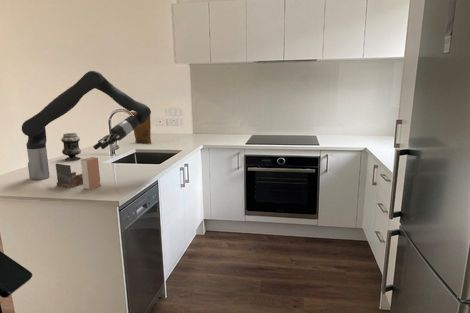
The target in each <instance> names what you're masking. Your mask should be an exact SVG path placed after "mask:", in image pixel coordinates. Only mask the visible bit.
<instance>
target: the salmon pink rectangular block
mask: <svg viewBox="0 0 470 313" xmlns="http://www.w3.org/2000/svg"><path fill="white" fill-rule="evenodd" d="M80 166H81V174H82V177H83V184H82V185H83V186H82V187H83V189H84V190H85V189H86V190H92V189H96V188H99V187H100V186H101V177H100V165H99V158H98V157H95V156H92V157H87V158H83V159H81V160H80Z"/></svg>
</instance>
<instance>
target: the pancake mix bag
mask: <svg viewBox="0 0 470 313" xmlns="http://www.w3.org/2000/svg"><path fill="white" fill-rule="evenodd" d="M130 113H132V114H133V115H135V114H136V113H137V112H135V111H130ZM151 122H152V121H151V115H150V116H149V118H148V120H147V121H146V122H145V123H143V124H141V125H139V126H137V127H136V128H135V129H134V130H132V131H133V134H134V139H135V140H134V142H135V144H145V145H146V144H147V145H149V144H152V139H151V134H152V133H151V129H152V128H151V127H152V126H151V124H152V123H151Z"/></svg>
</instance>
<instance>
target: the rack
mask: <svg viewBox="0 0 470 313" xmlns="http://www.w3.org/2000/svg"><path fill="white" fill-rule="evenodd" d="M71 169H72V168H71V165H70V164H64V163H63V164H62V163H55V171H56V180H57V182H56V186H57V187H63V188H68V189H71V188H75V187H78V186H80V185H83V177H82V173H79V174H77V172H76V171H72V170H71Z"/></svg>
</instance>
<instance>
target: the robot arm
mask: <svg viewBox="0 0 470 313" xmlns="http://www.w3.org/2000/svg"><path fill="white" fill-rule="evenodd" d="M94 89H96V90H99V91H100V92H102V93H104V94H105V95H107V96H108V97H110V98H111V99H112V100H113V101H114V102H115V103H117V105H119V106H120V107H122V108H123V109H125V110H126V111H128V112H137V113H136V114H135V115H134V116H130V115H129V116H128V117H126V118H125V119H124V120H122V121H120V122H119V123H117V124H116V125H114V126H113V127H112V128H110V129H109V130H110V132H109V133H110V134H106V135H104V136H103V137H102V138H100V139H99V140H98V141H97V143H95V144H94V145H93V146H92V147H93V149H94V150H98V149H100V148H101V149H102V150H105V149H106V148H108V147H109V146H111V145H114V144H115V143H117V141H121V140H123V139H124V138H126V137H127V136H128V135H129V134H130V133H131V132H132V131H133V130H134V129H135V128H136V127H137V126H139V125H141V124H143V123H145V122H146V121H147V120H148V118H149V116H150V117H151V113H152V110H151V108H150V107H149V106H147V105H146V104H145V103H143V102H140V101H137V100H135V99H133V98H132V97H131V96H129V95H128V94H126V93H125V92H123V91H122V90H120V89H119V88H117V87H116V86H114V85H113V84H112V83H111V82H110V81H108V79H107V78H106V77H105V76H103V75H102V73H101V72H99V71H96V70H89V71H87V72H85V73H84V74H83V75H82V76H81V77H80V78H79V79H78V81H76V83H74V84H73V85H72V86H70V87H68V88H67V89H66V90H65V91H63V92H61V93H60V94H59V95H58V96H56V97H55V98H54V99H52V100H51V101H50V102H49V103H48V104H47V105H46V106H45V107H44V108H43V109H41V110H40V111H39V112H38V113H37V114H34V115H33V116H32V117H30V118H28V119H27V120H25V121H24V122H23V123H22V124H21V132H22V134H24V135H25V136H27V143H26V152H27V158H28V162H27V168H28V169H27V170H28V176H29V177H28V178H29V180H35V181H38V180H45V179H48V178H50V177H51V176H50V167H49V159H48V152H47V146H46V145H47V130H46V127H47V126H48V125H49V124H50V123H52V122H54V121H56V120H57V119H59V118H60V117H62V116H64V115H65V114H67V113H68V112H69V111H71V110H72V109H73V108H74V107H75V106H77V104H78V103H79V102H80V101H81V99H82V98H83V97H84V96H85V95H86V94H88V93H89V92H91V91H93V90H94Z"/></svg>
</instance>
